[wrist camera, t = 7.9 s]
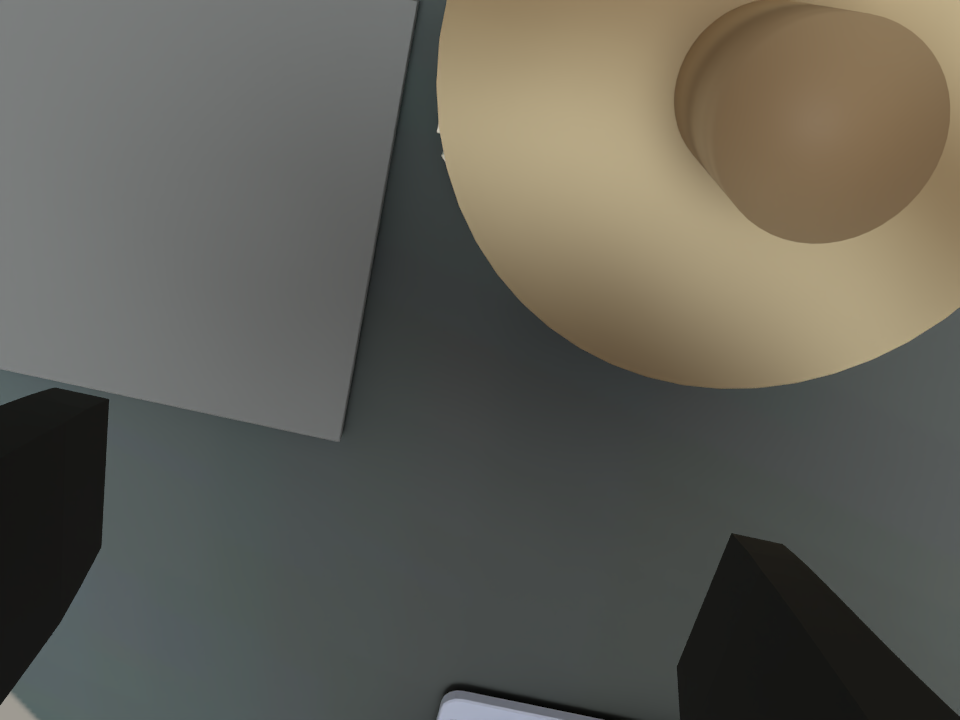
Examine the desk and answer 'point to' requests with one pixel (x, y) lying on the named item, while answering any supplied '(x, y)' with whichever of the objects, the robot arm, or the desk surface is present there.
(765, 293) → the lid
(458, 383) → the desk surface
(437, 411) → the desk surface
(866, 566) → the desk surface
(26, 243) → the mat
